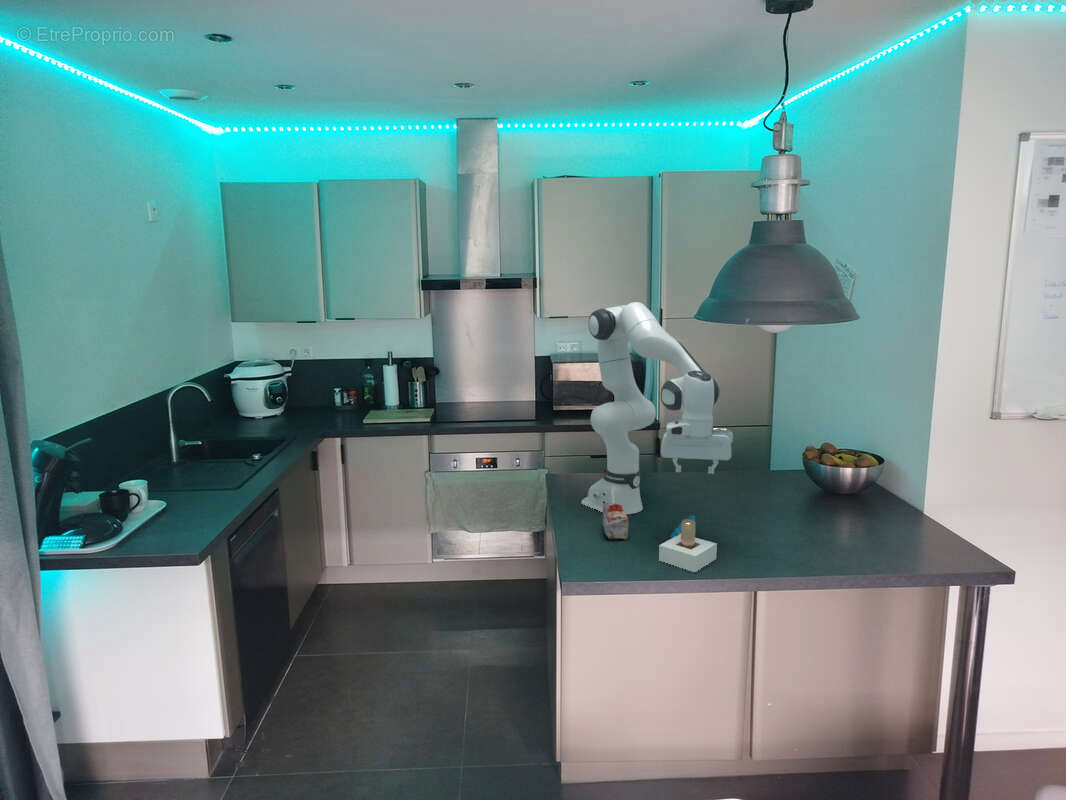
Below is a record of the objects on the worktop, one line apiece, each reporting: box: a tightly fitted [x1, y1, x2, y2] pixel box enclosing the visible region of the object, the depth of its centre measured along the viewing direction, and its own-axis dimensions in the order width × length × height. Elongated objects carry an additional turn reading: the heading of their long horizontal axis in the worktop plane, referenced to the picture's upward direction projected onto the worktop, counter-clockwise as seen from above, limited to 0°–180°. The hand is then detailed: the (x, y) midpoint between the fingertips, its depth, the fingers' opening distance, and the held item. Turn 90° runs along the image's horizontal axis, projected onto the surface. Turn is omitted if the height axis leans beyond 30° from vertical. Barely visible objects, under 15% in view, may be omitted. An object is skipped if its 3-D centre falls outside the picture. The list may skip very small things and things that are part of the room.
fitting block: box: [658, 534, 718, 573], centre depth 210 cm, size 12×12×5 cm
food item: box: [602, 503, 630, 540], centre depth 231 cm, size 14×8×10 cm, turn 4°
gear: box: [670, 515, 696, 539], centre depth 225 cm, size 11×6×10 cm
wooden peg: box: [680, 518, 696, 550], centre depth 209 cm, size 4×4×12 cm
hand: (694, 472), depth 211 cm, fingers open, 8 cm apart
